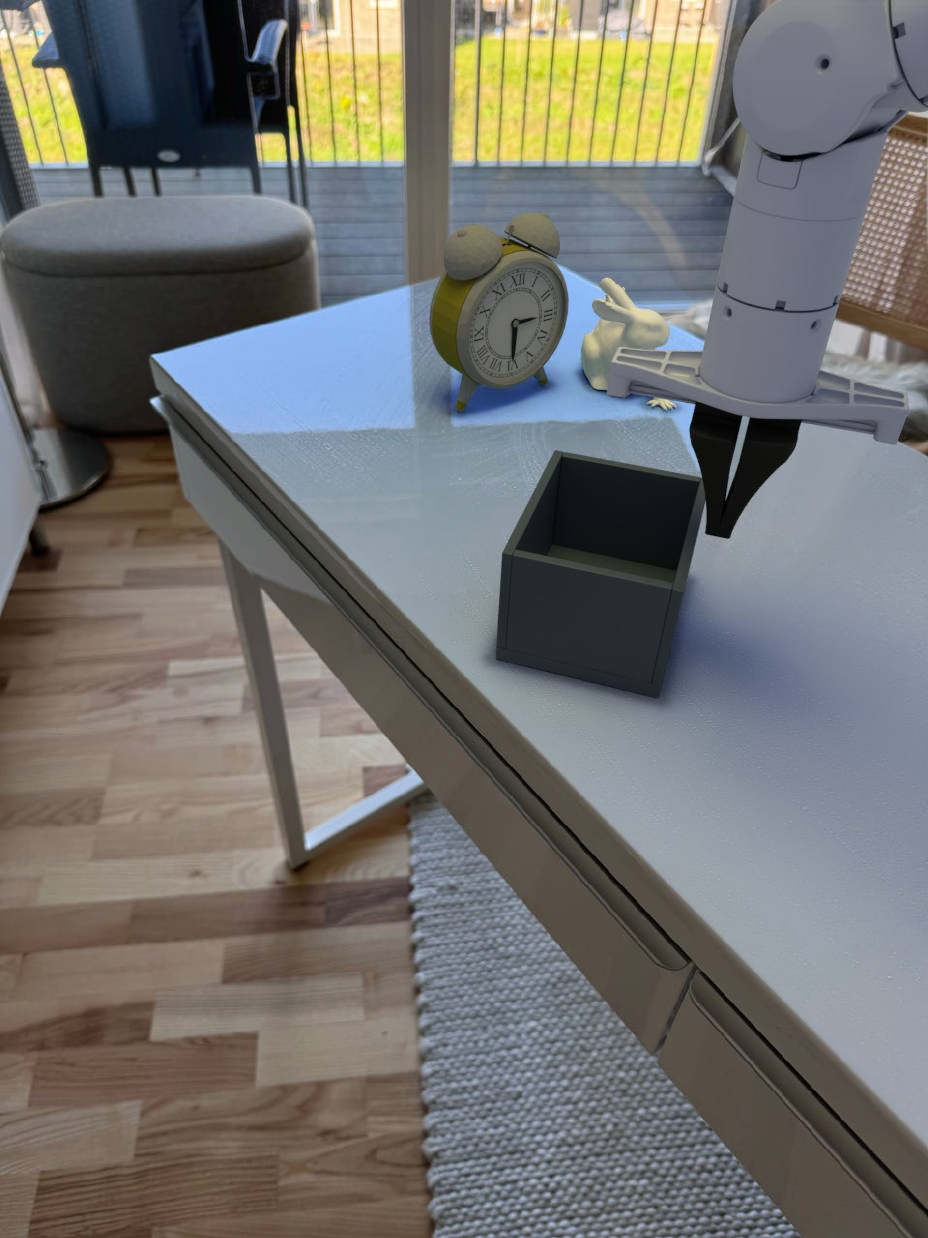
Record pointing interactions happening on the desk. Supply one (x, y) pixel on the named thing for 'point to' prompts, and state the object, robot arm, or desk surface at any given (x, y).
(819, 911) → the desk surface
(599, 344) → the rabbit figurine
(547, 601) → the dark grey storage bin
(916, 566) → the desk surface
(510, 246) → the alarm clock
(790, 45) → the robot arm
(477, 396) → the desk surface
